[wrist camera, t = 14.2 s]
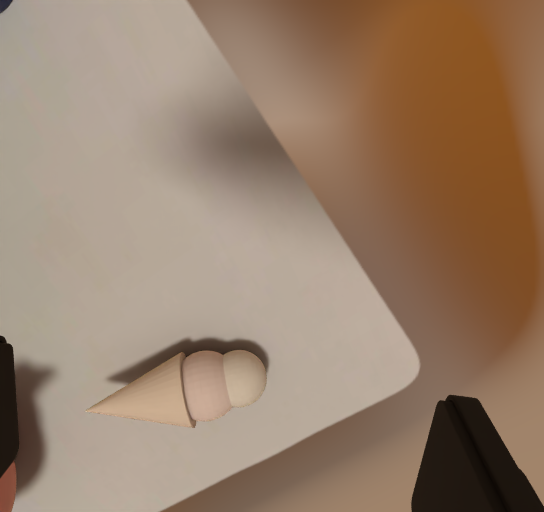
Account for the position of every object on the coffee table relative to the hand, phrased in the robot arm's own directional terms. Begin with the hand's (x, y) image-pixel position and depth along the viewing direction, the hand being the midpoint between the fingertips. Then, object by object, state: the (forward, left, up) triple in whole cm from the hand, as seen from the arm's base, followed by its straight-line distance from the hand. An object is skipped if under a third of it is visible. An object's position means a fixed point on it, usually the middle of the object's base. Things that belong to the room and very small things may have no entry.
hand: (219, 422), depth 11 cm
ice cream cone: (+6, +17, -28) cm, 34 cm away
